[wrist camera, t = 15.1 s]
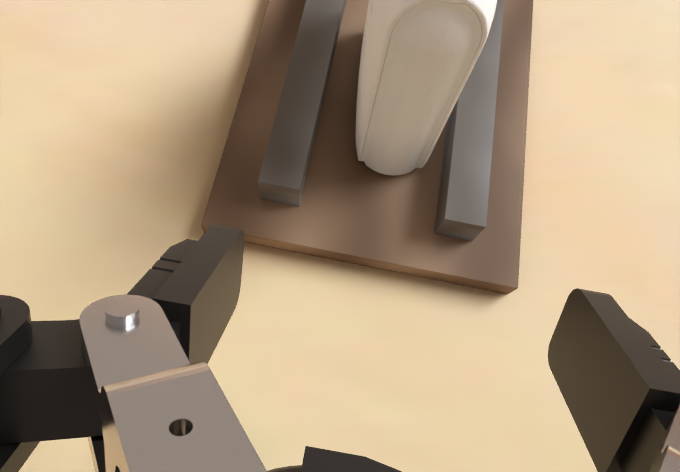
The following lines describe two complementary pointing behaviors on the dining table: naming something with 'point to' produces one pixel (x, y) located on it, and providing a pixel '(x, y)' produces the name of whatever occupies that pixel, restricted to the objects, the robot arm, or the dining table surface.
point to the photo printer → (414, 76)
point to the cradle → (353, 175)
